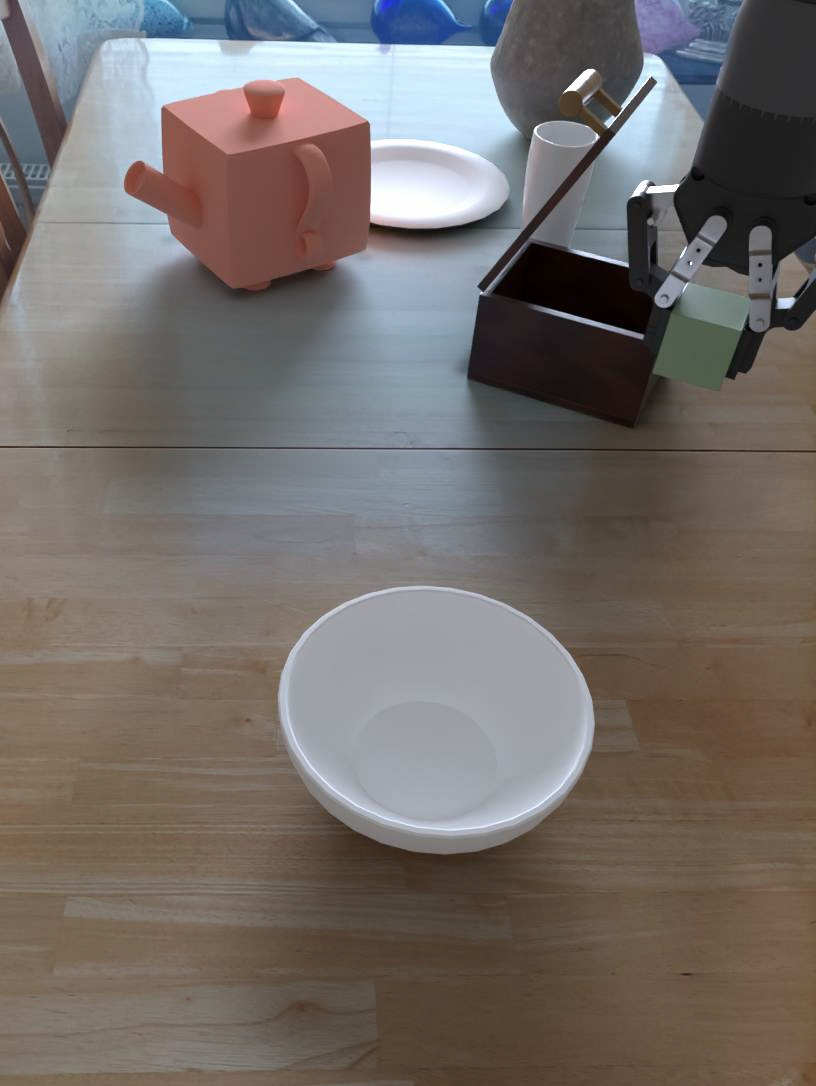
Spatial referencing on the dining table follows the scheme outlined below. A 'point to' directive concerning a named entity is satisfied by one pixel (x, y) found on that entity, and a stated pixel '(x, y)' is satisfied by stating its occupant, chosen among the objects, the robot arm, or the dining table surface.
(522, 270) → the box
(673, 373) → the block
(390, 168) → the plate
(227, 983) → the dining table surface
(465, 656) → the bowl
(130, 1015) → the dining table surface
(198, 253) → the teapot
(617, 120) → the tea lid
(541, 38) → the vase
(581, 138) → the drinking glass
